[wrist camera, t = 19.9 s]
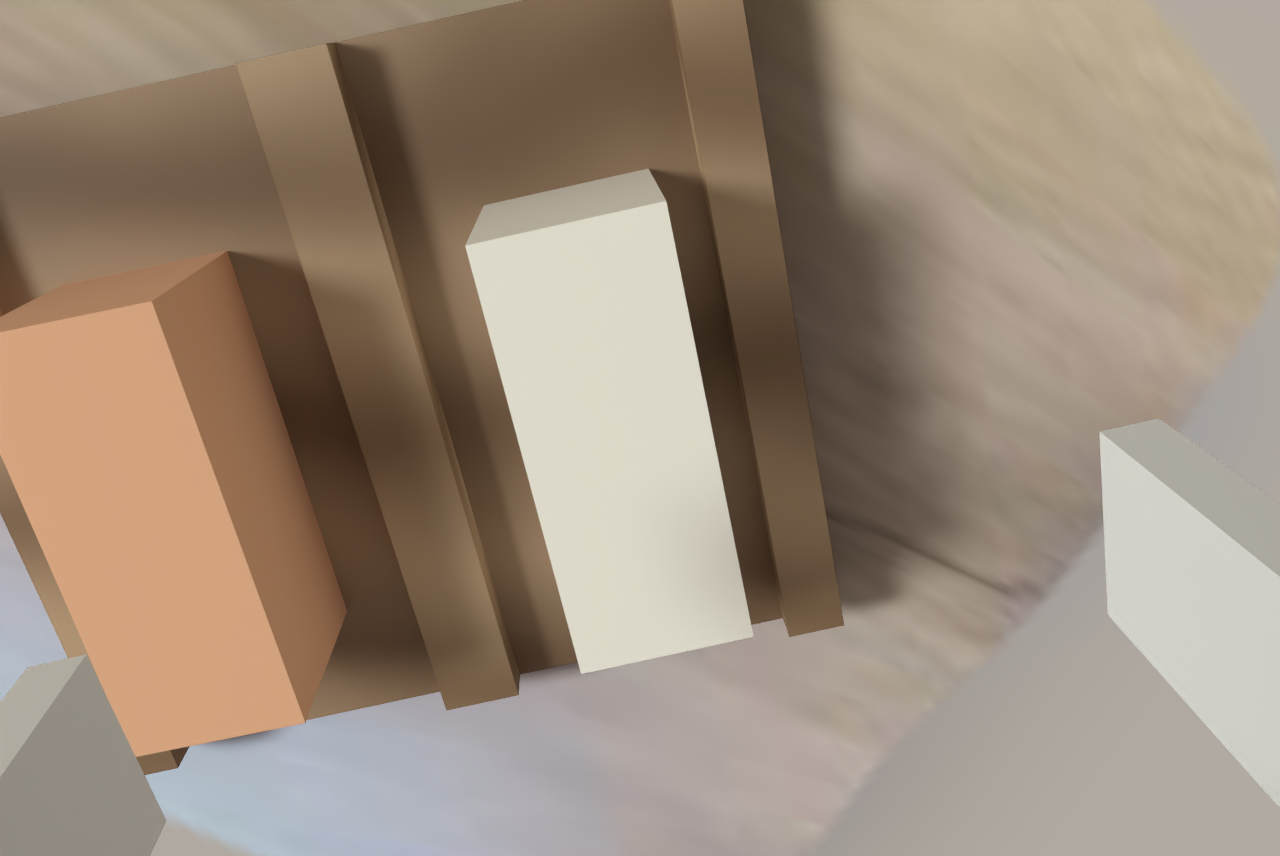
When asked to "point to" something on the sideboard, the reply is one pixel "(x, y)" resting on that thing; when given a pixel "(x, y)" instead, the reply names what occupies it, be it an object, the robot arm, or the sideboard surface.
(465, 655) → the comb board
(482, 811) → the sideboard surface
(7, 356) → the terracotta stub
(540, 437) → the cream stub
